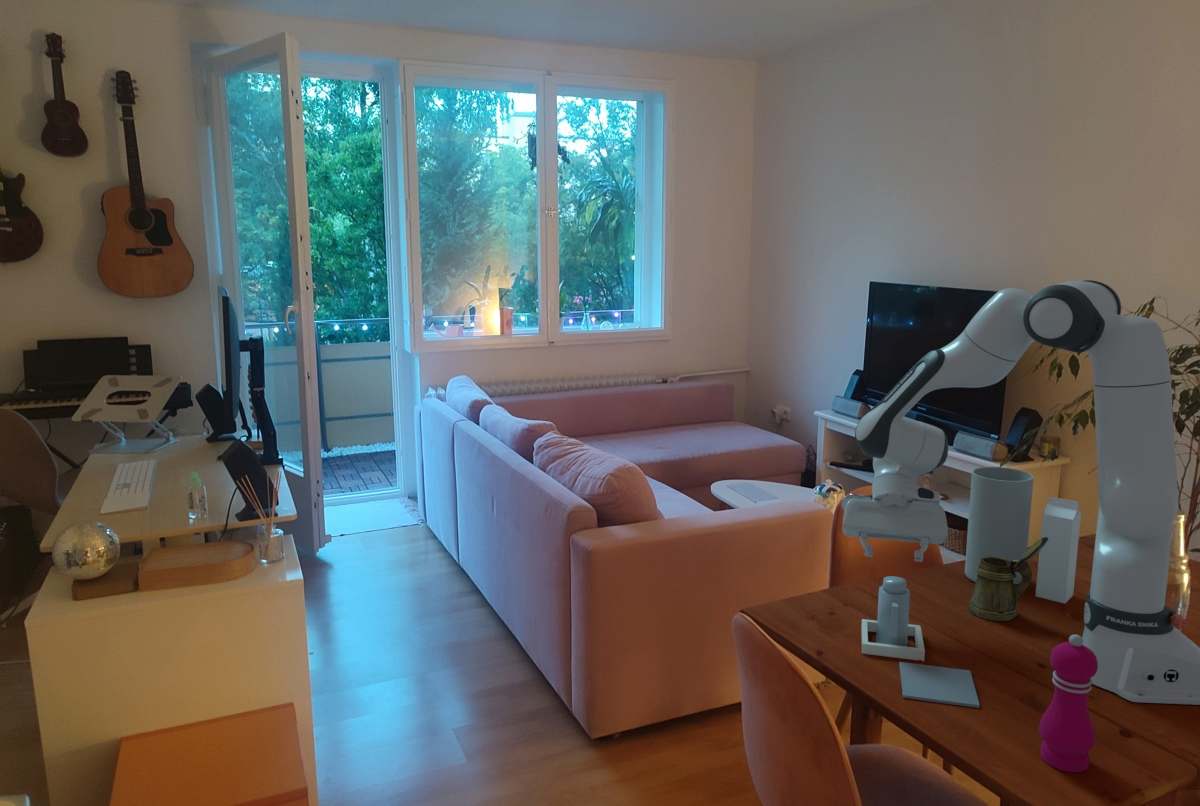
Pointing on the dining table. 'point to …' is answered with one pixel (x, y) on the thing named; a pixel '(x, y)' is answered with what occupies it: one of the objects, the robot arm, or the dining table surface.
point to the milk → (1058, 550)
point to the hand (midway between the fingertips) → (893, 558)
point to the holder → (892, 650)
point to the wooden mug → (1001, 585)
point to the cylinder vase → (998, 516)
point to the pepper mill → (1069, 708)
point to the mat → (938, 684)
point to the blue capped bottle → (893, 612)
